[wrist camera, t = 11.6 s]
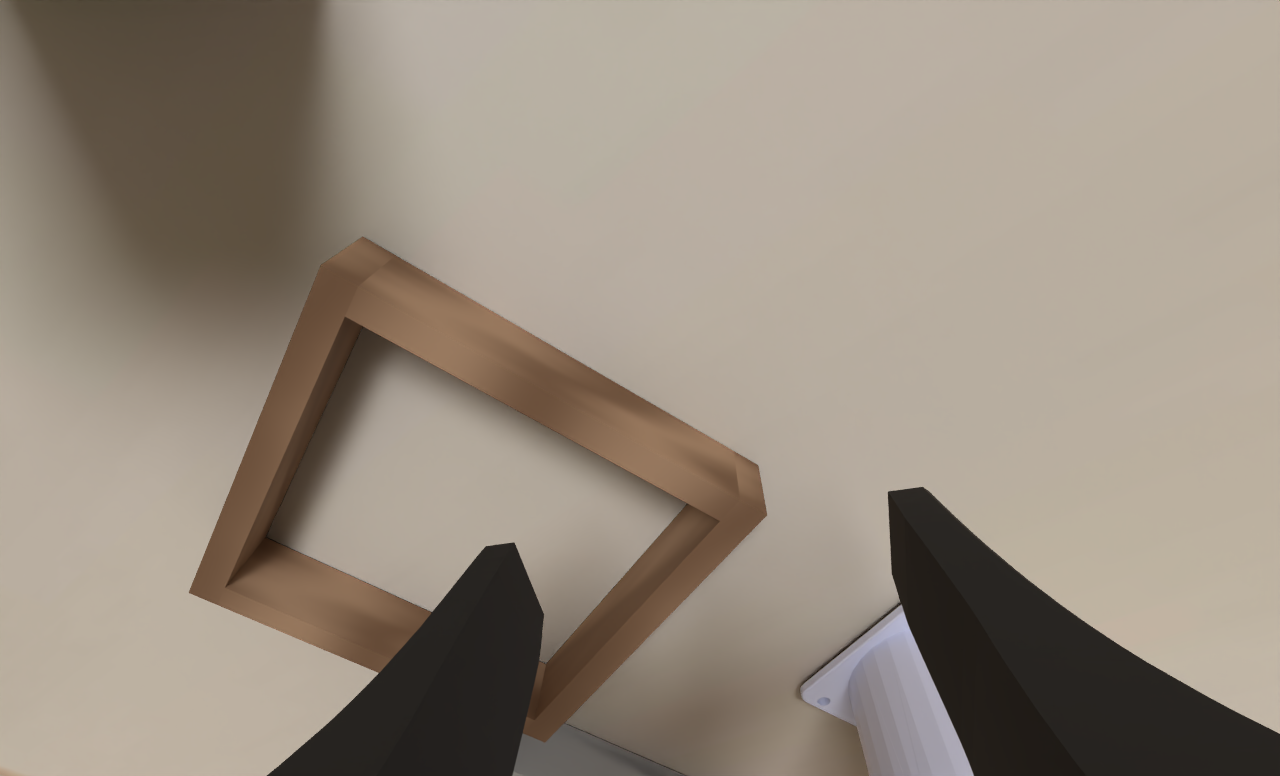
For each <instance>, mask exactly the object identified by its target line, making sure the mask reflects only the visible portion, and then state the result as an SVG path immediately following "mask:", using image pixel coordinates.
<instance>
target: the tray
mask: <svg viewBox="0 0 1280 776" xmlns="http://www.w3.org/2000/svg"><path fill="white" fill-rule="evenodd" d="M512 776H685V775H683V774H680V773H678V772H676V771H673V770H671V769H669V768H666V767H664V766H662V765H659V764H657V763H655V762H652V761H650V760H648V759H646V758H643V757H641V756H639V755H636V754H634V753H632V752H629V751H627V750H625V749H622V748H620V747H618V746H615V745H613V744H611V743H609V742H606V741H604V740H602V739H599V738H597V737H595V736H592V735H590V734H588V733H585V732H583V731H581V730H578V729H576V728H574V727H571V726H569V725H567V724H565V723H564V724H563V725H562V726H561V727H560V728H559V729H558V730H557V731H556V732H555V733H554V734H553V735H552V736H551V737H550V738H549V739H548V740H547V741H546V742H545V743H544V742H542V741H540V740H537V739H535V738H533V737H530V736H528V735H525V734H522V738H521V742H520V746H519V750H518V755H517V759H516V763H515V767H514V771H513V775H512Z"/></svg>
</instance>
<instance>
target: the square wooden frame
mask: <svg viewBox="0 0 1280 776" xmlns="http://www.w3.org/2000/svg"><path fill="white" fill-rule="evenodd" d="M362 327H365V328H367V329H369V330H371V331H372V332H374V333H376V334H378V335H380V336H382V337H383V338H385V339H387V340H389V341H391V342H393V343H394V344H396V345H398V346H400V347H402V348H404V349H405V350H407V351H409V352H411V353H413V354H415V355H416V356H418V357H420V358H422V359H424V360H426V361H427V362H429V363H431V364H433V365H435V366H437V367H438V368H440V369H442V370H444V371H446V372H448V373H449V374H451V375H453V376H455V377H457V378H459V379H460V380H462V381H464V382H466V383H468V384H470V385H471V386H473V387H475V388H477V389H479V390H481V391H482V392H484V393H486V394H488V395H490V396H492V397H493V398H495V399H497V400H499V401H501V402H503V403H504V404H506V405H508V406H510V407H512V408H514V409H515V410H517V411H519V412H521V413H523V414H525V415H526V416H528V417H530V418H532V419H534V420H536V421H537V422H539V423H541V424H543V425H545V426H547V427H548V428H550V429H552V430H554V431H556V432H558V433H559V434H561V435H563V436H565V437H567V438H569V439H570V440H572V441H574V442H576V443H578V444H579V445H581V446H583V447H585V448H587V449H589V450H590V451H592V452H594V453H596V454H598V455H600V456H601V457H603V458H605V459H607V460H609V461H611V462H612V463H614V464H616V465H618V466H620V467H622V468H623V469H625V470H627V471H629V472H631V473H633V474H634V475H636V476H638V477H640V478H642V479H644V480H645V481H647V482H649V483H651V484H653V485H655V486H656V487H658V488H660V489H662V490H664V491H666V492H667V493H669V494H671V495H673V496H675V497H677V498H678V499H680V500H682V501H684V502H686V503H688V504H687V505H686V506H685V507H684V508H683V510H682V511H681V512H680V513H679V514H678V515H677V516H676V517H675V519H674V520H673V521H672V522H671V523H670V524H669V525H668V527H667V528H666V529H665V530H664V531H663V532H662V533H661V535H660V536H659V537H658V538H657V539H656V540H655V541H654V542H653V544H652V545H651V546H650V547H649V548H648V549H647V550H646V552H645V553H644V554H643V555H642V556H641V557H640V558H639V559H638V561H637V562H636V563H635V564H634V565H633V566H632V567H631V569H630V570H629V571H628V572H627V573H626V574H625V575H624V576H623V578H622V579H621V580H620V581H619V582H618V583H617V584H616V586H615V587H614V588H613V589H612V590H611V591H610V592H609V593H608V595H607V596H606V597H605V598H604V599H603V600H602V601H601V603H600V604H599V605H598V606H597V607H596V608H595V609H594V610H593V612H592V613H591V614H590V615H589V616H588V617H587V618H586V620H585V621H584V622H583V623H582V624H581V625H580V626H579V628H578V629H577V630H576V631H575V632H574V633H573V634H572V635H571V637H570V638H569V639H568V640H567V641H566V642H565V643H564V645H563V646H562V647H561V648H560V649H559V650H558V651H557V652H556V654H555V655H554V656H553V657H552V658H551V659H550V660H549V662H548V663H547V664H544V663H542V662H540V661H539V665H538V669H537V674H536V678H535V683H534V687H533V691H532V696H531V700H530V704H529V709H528V713H527V717H526V721H525V725H524V729H523V734H525V735H528V736H530V737H533V738H535V739H537V740H540V741H542V742H544V743H545V742H546V741H547V740H548V739H549V738H550V737H551V736H552V735H553V734H554V733H555V732H556V731H557V730H558V729H559V728H560V727H561V726H562V725H563V724H564V723H565V722H566V721H567V720H568V719H569V718H570V717H571V716H572V715H573V714H574V712H575V711H576V710H577V709H578V708H579V707H580V706H581V705H582V704H583V703H584V702H585V701H586V700H587V699H588V698H589V697H590V696H591V695H592V694H593V693H594V692H595V691H596V690H597V689H598V688H599V687H600V686H601V685H602V684H603V683H604V682H605V681H606V680H607V679H608V678H609V677H610V676H611V675H612V674H613V672H614V671H615V670H616V669H617V668H618V667H619V666H620V665H621V664H622V663H623V662H624V661H625V660H626V659H627V658H628V657H629V656H630V655H631V654H632V653H633V652H634V651H635V650H636V649H637V648H638V647H639V646H640V645H641V644H642V643H643V642H644V641H645V640H646V639H647V638H648V637H649V636H650V635H651V634H652V633H653V631H654V630H655V629H656V628H657V627H658V626H659V625H660V624H661V623H662V622H663V621H664V620H665V619H666V618H667V617H668V616H669V615H670V614H671V613H672V612H673V611H674V610H675V609H676V608H677V607H678V606H679V605H680V604H681V603H682V602H683V601H684V600H685V599H686V598H687V597H688V596H689V595H690V594H691V593H692V591H693V590H694V589H695V588H696V587H697V586H698V585H699V584H700V583H701V582H702V581H703V580H704V579H705V578H706V577H707V576H708V575H709V574H710V573H711V572H712V571H713V570H714V569H715V568H716V567H717V566H718V565H719V564H720V563H721V562H722V561H723V560H724V559H725V558H726V557H727V556H728V555H729V554H730V553H731V551H732V550H733V549H734V548H735V547H736V546H737V545H738V544H739V543H740V542H741V541H742V540H743V539H744V538H745V537H746V536H747V535H748V534H749V533H750V532H751V531H752V530H753V529H754V528H755V527H756V526H757V525H758V524H759V523H760V522H761V521H762V520H763V519H764V518H765V517H766V516H767V511H766V506H765V500H764V495H763V489H762V484H761V478H760V472H759V467H758V465H757V464H755V463H753V462H751V461H750V460H748V459H746V458H745V457H743V456H741V455H739V454H738V453H736V452H734V451H732V450H731V449H729V448H727V447H726V446H724V445H722V444H720V443H719V442H717V441H715V440H713V439H712V438H710V437H708V436H707V435H705V434H703V433H701V432H700V431H698V430H696V429H694V428H693V427H691V426H689V425H687V424H686V423H684V422H682V421H681V420H679V419H677V418H675V417H674V416H672V415H670V414H668V413H667V412H665V411H663V410H662V409H660V408H658V407H656V406H655V405H653V404H651V403H649V402H648V401H646V400H644V399H643V398H641V397H639V396H637V395H636V394H634V393H632V392H630V391H629V390H627V389H625V388H624V387H622V386H620V385H618V384H617V383H615V382H613V381H611V380H610V379H608V378H606V377H605V376H603V375H601V374H599V373H598V372H596V371H594V370H592V369H591V368H589V367H587V366H586V365H584V364H582V363H580V362H579V361H577V360H575V359H573V358H572V357H570V356H568V355H567V354H565V353H563V352H561V351H560V350H558V349H556V348H554V347H553V346H551V345H549V344H548V343H546V342H544V341H542V340H541V339H539V338H537V337H535V336H534V335H532V334H530V333H529V332H527V331H525V330H523V329H522V328H520V327H518V326H516V325H515V324H513V323H511V322H510V321H508V320H506V319H504V318H503V317H501V316H499V315H497V314H496V313H494V312H492V311H491V310H489V309H487V308H485V307H484V306H482V305H480V304H478V303H477V302H475V301H473V300H472V299H470V298H468V297H466V296H465V295H463V294H461V293H459V292H458V291H456V290H454V289H453V288H451V287H449V286H447V285H446V284H444V283H442V282H440V281H439V280H437V279H435V278H433V277H432V276H430V275H428V274H427V273H425V272H423V271H421V270H420V269H418V268H416V267H414V266H413V265H411V264H409V263H408V262H406V261H404V260H402V259H401V258H399V257H397V256H395V255H394V254H392V253H390V252H389V251H387V250H385V249H383V248H382V247H380V246H378V245H376V244H375V243H373V242H371V241H370V240H368V239H366V238H364V237H362V238H360V239H359V240H357V241H356V242H354V243H353V244H351V245H350V246H348V247H347V248H345V249H344V250H342V251H341V252H339V253H338V254H337V255H335V256H334V257H332V258H331V259H329V260H328V261H326V262H325V263H323V264H322V265H321V266H320V268H319V271H318V273H317V276H316V278H315V281H314V283H313V286H312V288H311V291H310V293H309V296H308V298H307V301H306V303H305V306H304V308H303V311H302V313H301V316H300V318H299V321H298V323H297V325H296V328H295V330H294V333H293V335H292V338H291V340H290V343H289V345H288V348H287V350H286V353H285V355H284V358H283V360H282V363H281V365H280V368H279V370H278V373H277V375H276V378H275V380H274V383H273V385H272V387H271V390H270V392H269V395H268V397H267V400H266V402H265V405H264V407H263V410H262V412H261V415H260V417H259V420H258V422H257V425H256V427H255V430H254V432H253V435H252V437H251V440H250V442H249V445H248V447H247V449H246V452H245V454H244V457H243V459H242V462H241V464H240V467H239V469H238V472H237V474H236V477H235V479H234V482H233V484H232V487H231V489H230V492H229V494H228V497H227V499H226V502H225V504H224V506H223V509H222V511H221V514H220V516H219V519H218V521H217V524H216V526H215V529H214V531H213V534H212V536H211V539H210V541H209V544H208V546H207V549H206V551H205V554H204V556H203V559H202V561H201V564H200V566H199V568H198V571H197V573H196V576H195V578H194V581H193V583H192V586H191V588H190V591H189V593H191V594H193V595H195V596H198V597H200V598H202V599H205V600H207V601H210V602H212V603H214V604H217V605H219V606H221V607H224V608H226V609H229V610H231V611H233V612H236V613H238V614H240V615H243V616H245V617H248V618H250V619H252V620H255V621H257V622H259V623H262V624H264V625H267V626H269V627H271V628H274V629H276V630H278V631H281V632H283V633H286V634H288V635H290V636H293V637H295V638H297V639H300V640H302V641H305V642H307V643H309V644H312V645H314V646H316V647H319V648H321V649H324V650H326V651H328V652H331V653H333V654H335V655H338V656H340V657H343V658H345V659H347V660H350V661H352V662H354V663H357V664H359V665H362V666H364V667H366V668H369V669H371V670H373V671H376V672H378V673H380V672H381V670H382V669H383V668H384V667H385V666H386V665H387V664H388V663H389V662H390V660H391V659H392V658H393V657H394V656H395V655H396V654H397V653H398V651H399V650H400V649H401V648H402V647H403V646H404V645H405V644H406V642H407V641H408V640H409V639H410V638H411V637H412V636H413V635H414V633H415V632H416V631H417V630H418V629H419V628H420V627H421V625H422V624H423V623H424V622H425V620H426V619H427V618H428V617H429V616H430V614H431V612H429V611H427V610H425V609H423V608H420V607H418V606H416V605H414V604H412V603H409V602H407V601H405V600H403V599H400V598H398V597H396V596H394V595H392V594H389V593H387V592H385V591H383V590H381V589H378V588H376V587H374V586H372V585H370V584H367V583H365V582H363V581H361V580H358V579H356V578H354V577H352V576H350V575H347V574H345V573H343V572H341V571H339V570H336V569H334V568H332V567H330V566H327V565H325V564H323V563H321V562H319V561H316V560H314V559H312V558H310V557H308V556H305V555H303V554H301V553H299V552H297V551H294V550H292V549H290V548H288V547H285V546H283V545H281V544H279V543H277V542H274V541H272V540H270V539H268V538H266V535H267V533H268V531H269V529H270V526H271V524H272V522H273V520H274V518H275V516H276V513H277V511H278V509H279V507H280V505H281V503H282V500H283V498H284V496H285V494H286V492H287V490H288V487H289V485H290V483H291V481H292V479H293V477H294V474H295V472H296V470H297V468H298V466H299V464H300V461H301V459H302V457H303V455H304V453H305V451H306V448H307V446H308V444H309V442H310V440H311V438H312V435H313V433H314V431H315V429H316V427H317V425H318V422H319V420H320V418H321V416H322V414H323V412H324V409H325V407H326V405H327V403H328V401H329V399H330V396H331V394H332V392H333V390H334V388H335V386H336V383H337V381H338V379H339V377H340V375H341V373H342V370H343V368H344V366H345V364H346V362H347V360H348V357H349V355H350V353H351V351H352V349H353V347H354V344H355V342H356V340H357V338H358V336H359V334H360V331H361V329H362Z"/></svg>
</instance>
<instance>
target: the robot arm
mask: <svg viewBox="0 0 1280 776" xmlns="http://www.w3.org/2000/svg"><path fill="white" fill-rule="evenodd" d="M888 504H889V525H890V545H891V566H892V575H893V579H894V582H895V585H896V588H897V592H898V595H899V598H900V601H901V605H900V606H899V607H897V608H896V609H895V610H894V611H893V612H891V613H890V614H889V615H888V616H886V617H885V618H884V619H883V620H881V621H880V622H879V623H878V624H877V625H875V626H874V627H873V628H872V629H870V630H869V631H868V632H867V633H865V634H864V635H863V636H862V637H861V638H859V639H858V640H857V641H856V642H854V643H853V644H852V645H851V646H849V647H848V648H847V649H846V650H845V651H843V652H842V653H841V654H840V655H838V656H837V657H836V658H835V659H833V660H832V661H831V662H830V663H829V664H827V665H826V666H825V667H824V668H822V669H821V670H820V671H819V672H817V673H816V674H815V675H814V676H813V677H811V678H810V679H809V680H808V681H806V682H805V683H804V684H803V685H802V686H801V688H800V692H801V697H802V699H803V700H804V701H805V702H807V703H809V704H811V705H813V706H815V707H817V708H819V709H821V710H823V711H825V712H827V713H830V714H832V715H834V716H836V717H838V718H840V719H842V720H844V721H846V722H848V723H850V724H852V725H854V726H856V727H857V730H858V733H859V737H860V741H861V745H862V749H863V753H864V757H865V761H866V765H867V769H868V773H869V776H1280V734H1279V733H1277V732H1275V731H1273V730H1271V729H1269V728H1267V727H1265V726H1263V725H1261V724H1259V723H1257V722H1255V721H1253V720H1251V719H1249V718H1247V717H1245V716H1243V715H1241V714H1239V713H1237V712H1235V711H1233V710H1231V709H1229V708H1228V707H1226V706H1224V705H1222V704H1220V703H1218V702H1216V701H1214V700H1213V699H1211V698H1209V697H1207V696H1205V695H1204V694H1202V693H1200V692H1198V691H1196V690H1195V689H1193V688H1191V687H1189V686H1188V685H1186V684H1184V683H1182V682H1181V681H1179V680H1177V679H1175V678H1174V677H1172V676H1170V675H1168V674H1167V673H1165V672H1163V671H1161V670H1160V669H1158V668H1156V667H1154V666H1153V665H1151V664H1149V663H1147V662H1146V661H1144V660H1142V659H1141V658H1139V657H1138V656H1136V655H1134V654H1133V653H1131V652H1130V651H1128V650H1126V649H1125V648H1123V647H1122V646H1120V645H1118V644H1117V643H1115V642H1114V641H1112V640H1111V639H1109V638H1108V637H1106V636H1105V635H1103V634H1102V633H1100V632H1099V631H1097V630H1096V629H1094V628H1093V627H1091V626H1090V625H1088V624H1087V623H1085V622H1084V621H1083V620H1081V619H1080V618H1078V617H1077V616H1075V615H1074V614H1073V613H1071V612H1070V611H1069V610H1067V609H1066V608H1064V607H1063V606H1062V605H1060V604H1059V603H1058V602H1056V601H1055V600H1054V599H1052V598H1051V597H1050V596H1048V595H1047V594H1046V593H1044V592H1043V591H1042V590H1040V589H1039V588H1038V587H1037V586H1035V585H1034V584H1033V583H1031V582H1030V581H1029V580H1028V579H1026V578H1025V577H1024V576H1023V575H1021V574H1020V573H1019V572H1018V571H1016V570H1015V569H1014V568H1013V567H1012V566H1010V565H1009V564H1008V563H1007V562H1006V561H1005V560H1003V559H1002V558H1001V557H1000V556H999V555H997V554H996V553H995V552H994V551H993V550H991V549H990V548H989V547H988V546H987V545H986V544H985V543H983V542H982V541H981V540H980V539H979V538H978V537H977V536H975V535H974V534H973V533H972V532H971V531H970V530H969V529H968V528H967V527H966V526H965V525H963V524H962V523H961V522H960V521H959V520H958V519H957V518H956V517H955V516H954V515H953V514H952V513H951V512H950V511H949V510H948V509H946V508H945V507H944V506H943V505H942V504H941V503H940V502H939V501H938V500H937V499H936V498H935V497H934V496H933V495H932V494H931V493H930V492H929V491H928V490H926V489H925V488H923V487H919V488H911V489H904V490H897V491H889V492H888ZM543 618H544V614H543V611H542V609H541V606H540V604H539V602H538V599H537V597H536V594H535V592H534V589H533V587H532V584H531V582H530V580H529V577H528V575H527V572H526V570H525V567H524V565H523V562H522V560H521V558H520V555H519V553H518V550H517V548H516V545H515V543H507V544H500V545H493V546H486V547H485V548H484V549H483V550H482V551H481V553H480V554H479V555H478V556H477V557H476V559H475V560H474V561H473V562H472V564H471V565H470V566H469V567H468V569H467V570H466V571H465V572H464V574H463V575H462V576H461V577H460V579H459V580H458V581H457V582H456V584H455V585H454V586H453V587H452V589H451V590H450V591H449V592H448V594H447V595H446V596H445V597H444V599H443V600H442V601H441V602H440V603H439V605H438V606H437V607H436V608H435V609H434V611H433V612H432V613H431V614H430V616H429V617H428V618H427V619H426V620H425V622H424V623H423V624H422V625H421V627H420V628H419V629H418V630H417V631H416V632H415V633H414V635H413V636H412V637H411V638H410V639H409V640H408V641H407V642H406V644H405V645H404V646H403V647H402V648H401V649H400V650H399V651H398V653H397V654H396V655H395V656H394V657H393V658H392V659H391V660H390V662H389V663H388V664H387V665H386V666H385V667H384V668H383V669H382V670H381V672H380V673H379V674H378V675H377V676H376V677H375V678H374V679H373V680H372V681H371V682H370V683H369V684H368V685H367V686H366V687H365V688H364V689H363V690H362V691H361V692H360V693H359V694H358V695H357V696H356V697H355V698H354V699H353V700H352V701H351V702H350V703H349V704H348V705H347V706H346V707H345V708H344V709H343V710H342V711H341V712H340V713H339V714H338V715H336V716H335V717H334V718H333V719H332V720H331V721H330V722H329V723H328V724H327V725H326V726H325V727H323V728H322V729H321V730H320V731H319V732H318V733H316V734H315V735H314V736H313V737H312V738H311V739H310V740H308V741H307V742H306V743H305V744H304V745H303V746H301V747H300V748H299V749H298V750H297V751H296V752H294V753H293V754H292V755H291V756H290V757H289V758H288V759H286V760H285V761H284V762H283V763H282V764H281V765H279V766H278V767H277V768H276V769H274V770H273V771H272V772H271V773H270V774H268V775H267V776H512V775H513V771H514V767H515V763H516V759H517V755H518V750H519V746H520V742H521V738H522V734H523V729H524V725H525V721H526V717H527V713H528V709H529V704H530V700H531V696H532V691H533V687H534V683H535V678H536V674H537V669H538V665H539V657H540V648H541V639H542V628H543Z"/></svg>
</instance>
